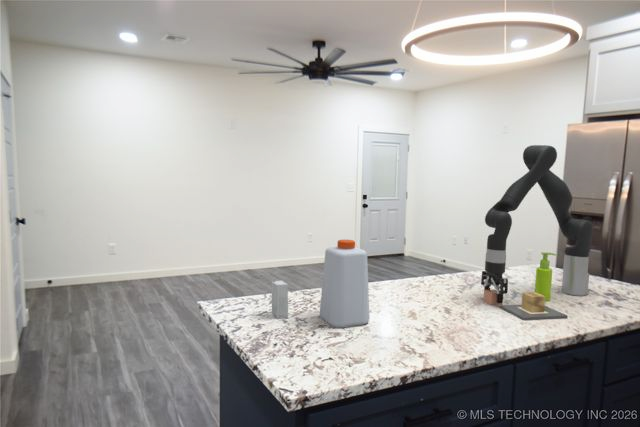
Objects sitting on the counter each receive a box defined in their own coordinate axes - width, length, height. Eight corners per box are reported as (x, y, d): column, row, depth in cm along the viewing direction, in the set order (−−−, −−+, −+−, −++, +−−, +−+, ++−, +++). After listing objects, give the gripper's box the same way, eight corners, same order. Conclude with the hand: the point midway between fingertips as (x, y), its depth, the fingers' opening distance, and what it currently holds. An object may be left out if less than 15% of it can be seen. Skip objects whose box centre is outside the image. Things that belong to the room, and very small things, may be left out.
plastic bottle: (315, 315, 148) (317, 238, 146) (353, 310, 154) (355, 236, 152) (333, 330, 134) (335, 245, 132) (374, 324, 140) (376, 243, 138)
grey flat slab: (540, 306, 165) (540, 303, 165) (567, 318, 151) (567, 315, 151) (499, 307, 161) (499, 305, 161) (523, 320, 148) (523, 317, 147)
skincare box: (288, 317, 145) (289, 284, 144) (276, 319, 143) (277, 285, 142) (282, 312, 151) (282, 279, 150) (270, 313, 149) (271, 281, 148)
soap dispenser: (554, 302, 170) (558, 254, 169) (536, 300, 172) (540, 253, 170) (549, 298, 176) (553, 252, 174) (532, 296, 178) (535, 251, 176)
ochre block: (533, 307, 159) (535, 292, 159) (544, 312, 154) (545, 296, 153) (521, 308, 158) (522, 292, 158) (531, 312, 153) (532, 296, 152)
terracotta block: (494, 301, 170) (495, 289, 170) (502, 305, 165) (502, 292, 165) (483, 301, 169) (484, 289, 169) (490, 305, 164) (491, 293, 164)
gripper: (515, 264, 159) (512, 304, 161) (493, 256, 173) (490, 294, 175) (497, 264, 158) (495, 305, 159) (477, 257, 172) (474, 295, 173)
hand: (492, 299), depth 167 cm, fingers open, 8 cm apart
